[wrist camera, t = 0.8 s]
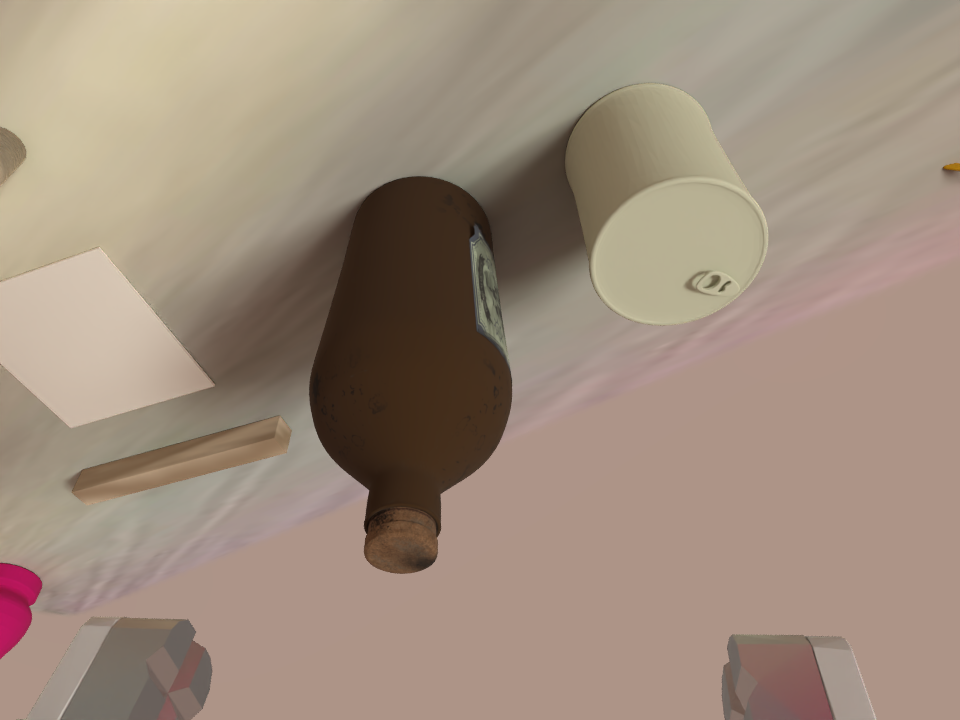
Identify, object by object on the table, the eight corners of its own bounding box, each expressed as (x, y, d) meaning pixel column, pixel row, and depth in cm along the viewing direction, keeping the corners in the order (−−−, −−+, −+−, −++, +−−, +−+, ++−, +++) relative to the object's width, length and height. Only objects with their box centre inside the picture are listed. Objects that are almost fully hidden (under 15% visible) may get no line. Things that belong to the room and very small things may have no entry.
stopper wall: (82, 469, 65) (71, 492, 64) (279, 415, 61) (274, 437, 59) (97, 482, 67) (87, 505, 65) (291, 430, 63) (286, 452, 61)
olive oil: (362, 305, 54) (311, 625, 35) (327, 174, 47) (240, 489, 28) (506, 291, 53) (531, 609, 35) (493, 157, 46) (515, 466, 27)
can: (646, 239, 50) (686, 355, 42) (536, 177, 47) (554, 289, 38) (743, 131, 45) (812, 236, 36) (627, 52, 42) (672, 147, 33)
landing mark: (-63, 303, 53) (-64, 304, 53) (99, 246, 50) (98, 248, 50) (71, 426, 62) (70, 428, 62) (215, 384, 59) (214, 386, 59)
